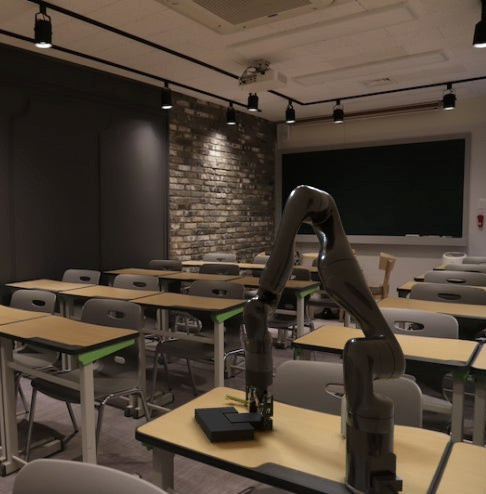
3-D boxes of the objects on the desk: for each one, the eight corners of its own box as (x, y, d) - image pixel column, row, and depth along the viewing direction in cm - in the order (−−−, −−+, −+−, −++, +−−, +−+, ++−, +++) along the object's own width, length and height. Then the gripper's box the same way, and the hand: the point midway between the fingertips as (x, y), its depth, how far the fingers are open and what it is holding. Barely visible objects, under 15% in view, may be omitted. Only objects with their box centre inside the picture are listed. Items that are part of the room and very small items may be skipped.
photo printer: (359, 426, 138) (360, 383, 137) (374, 431, 134) (375, 387, 134) (338, 435, 132) (338, 390, 132) (353, 441, 129) (354, 395, 128)
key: (224, 400, 159) (224, 394, 159) (264, 403, 156) (264, 397, 156) (224, 408, 152) (224, 402, 152) (265, 412, 149) (265, 405, 149)
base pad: (254, 439, 130) (254, 428, 130) (211, 442, 129) (211, 431, 129) (233, 416, 146) (233, 406, 146) (194, 418, 145) (194, 408, 144)
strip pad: (272, 430, 136) (272, 419, 136) (231, 432, 135) (231, 422, 135) (263, 421, 142) (264, 411, 142) (224, 423, 141) (224, 413, 140)
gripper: (283, 373, 131) (282, 433, 132) (261, 359, 145) (260, 413, 146) (256, 375, 130) (256, 435, 131) (237, 360, 144) (236, 414, 145)
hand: (258, 423), depth 139 cm, fingers open, 7 cm apart
